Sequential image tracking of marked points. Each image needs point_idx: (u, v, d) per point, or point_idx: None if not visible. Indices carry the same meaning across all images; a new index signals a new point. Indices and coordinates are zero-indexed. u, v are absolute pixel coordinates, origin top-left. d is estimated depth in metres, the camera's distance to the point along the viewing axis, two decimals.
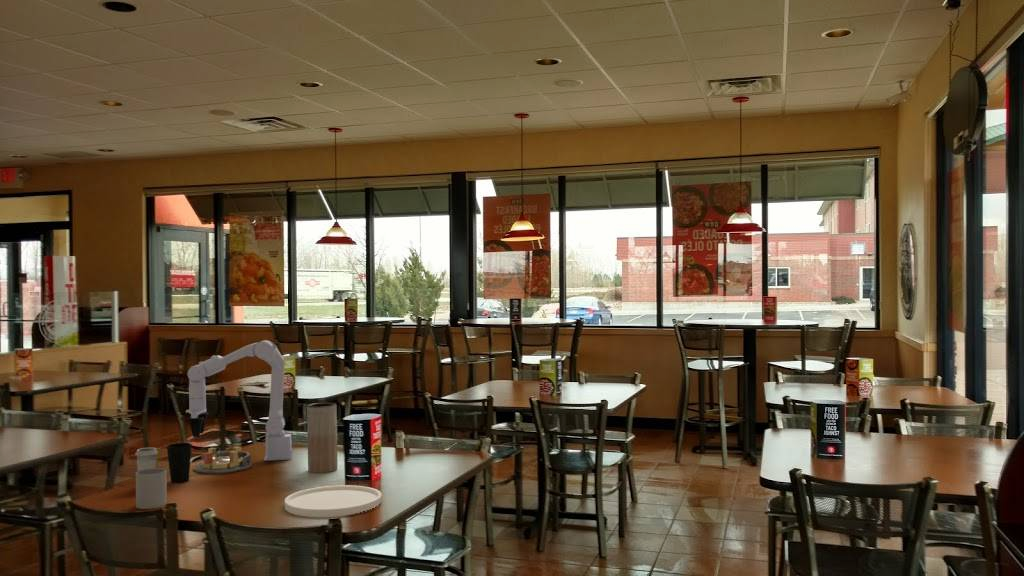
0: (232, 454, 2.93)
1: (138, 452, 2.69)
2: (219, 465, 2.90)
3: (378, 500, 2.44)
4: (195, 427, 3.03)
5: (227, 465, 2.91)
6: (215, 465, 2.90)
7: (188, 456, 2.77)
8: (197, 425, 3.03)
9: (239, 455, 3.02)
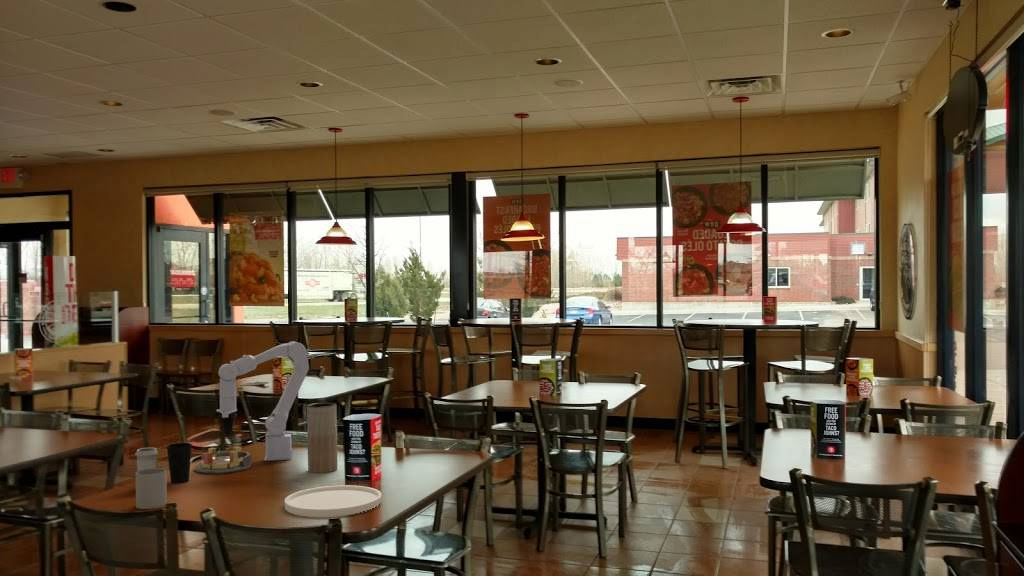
0: (232, 454, 2.93)
1: (138, 452, 2.69)
2: (219, 465, 2.90)
3: (378, 500, 2.44)
4: (227, 425, 3.04)
5: (227, 465, 2.91)
6: (215, 465, 2.90)
7: (188, 456, 2.77)
8: (229, 423, 3.04)
9: (239, 455, 3.02)
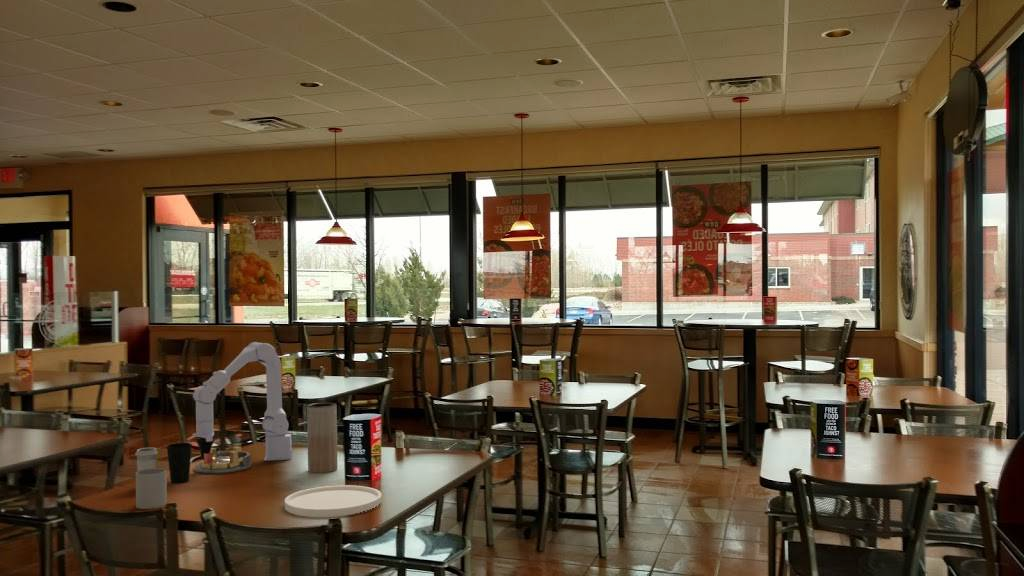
0: (232, 454, 2.93)
1: (138, 452, 2.69)
2: (219, 465, 2.90)
3: (378, 500, 2.44)
4: (205, 449, 2.94)
5: (227, 465, 2.91)
6: (215, 465, 2.90)
7: (188, 456, 2.77)
8: (207, 447, 2.94)
9: (239, 455, 3.02)
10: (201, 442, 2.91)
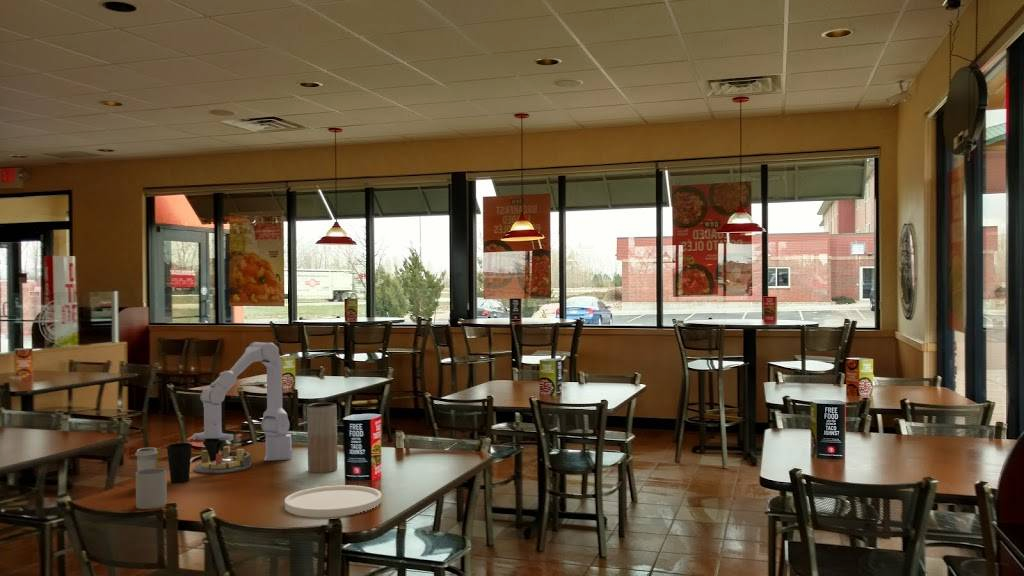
0: (241, 451, 2.97)
1: (138, 452, 2.69)
2: (234, 463, 2.93)
3: (378, 500, 2.44)
4: (215, 450, 2.91)
5: (240, 462, 2.95)
6: (231, 464, 2.92)
7: (188, 456, 2.77)
8: (216, 448, 2.92)
9: (229, 454, 3.04)
10: (216, 443, 2.89)
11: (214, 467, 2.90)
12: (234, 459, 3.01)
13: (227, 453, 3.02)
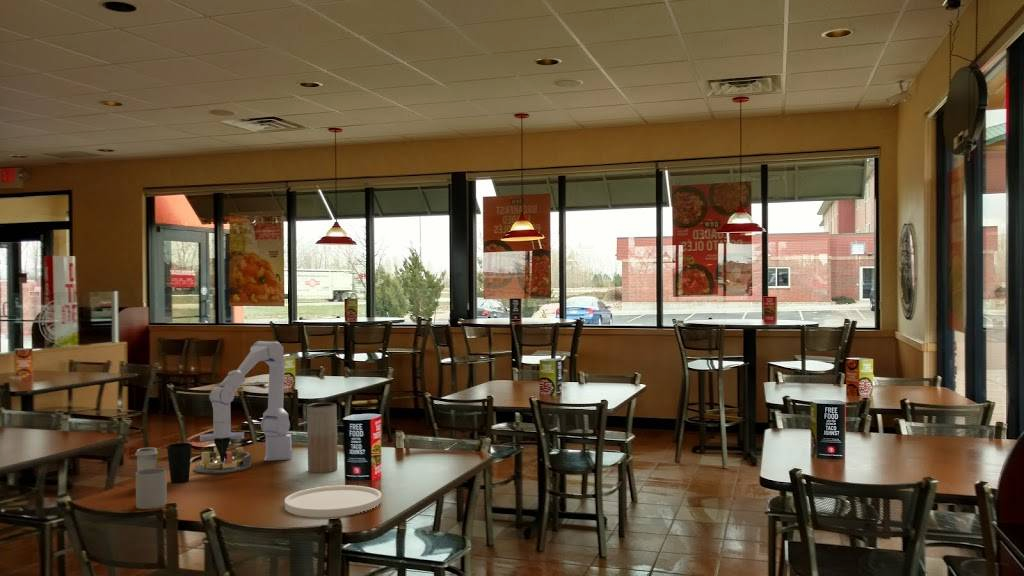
0: (242, 450, 3.01)
1: (138, 452, 2.69)
2: (242, 461, 2.96)
3: (378, 500, 2.44)
4: None
5: None
6: (240, 462, 2.95)
7: (188, 456, 2.77)
8: None
9: None
10: (229, 442, 2.91)
11: (226, 466, 2.91)
12: None
13: None
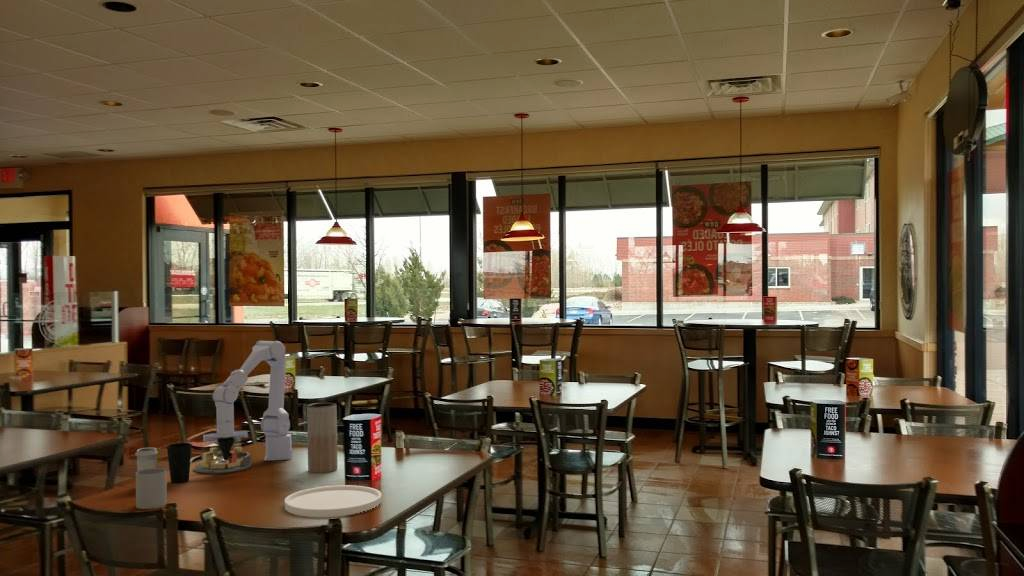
0: (240, 449, 3.02)
1: (138, 452, 2.69)
2: None
3: (378, 500, 2.44)
4: None
5: None
6: None
7: (188, 456, 2.77)
8: None
9: None
10: None
11: (231, 466, 2.92)
12: None
13: (216, 454, 3.01)
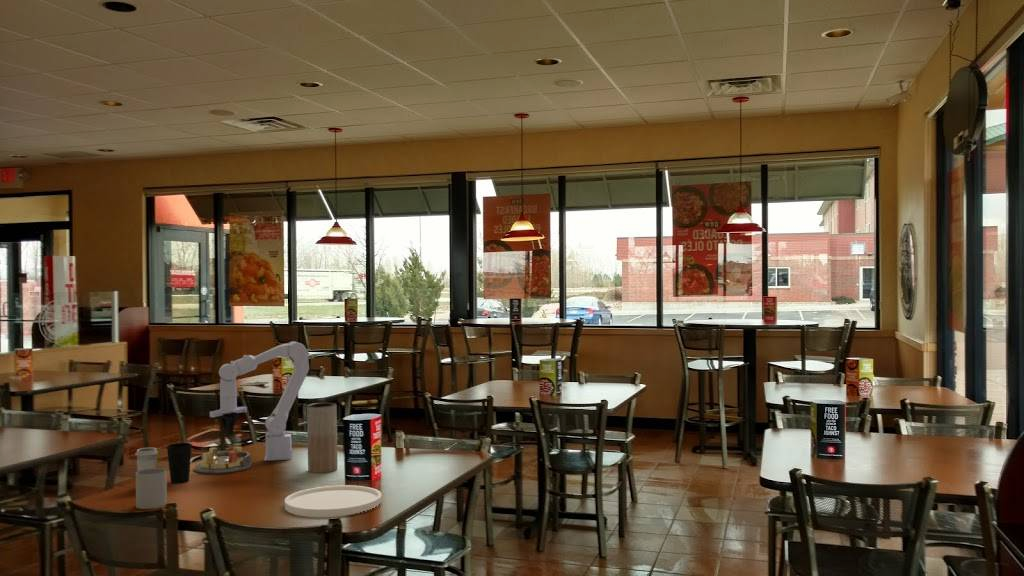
0: (240, 449, 3.02)
1: (138, 452, 2.69)
2: None
3: (378, 500, 2.44)
4: None
5: None
6: None
7: (188, 456, 2.77)
8: None
9: None
10: None
11: (231, 466, 2.92)
12: None
13: (216, 454, 3.01)
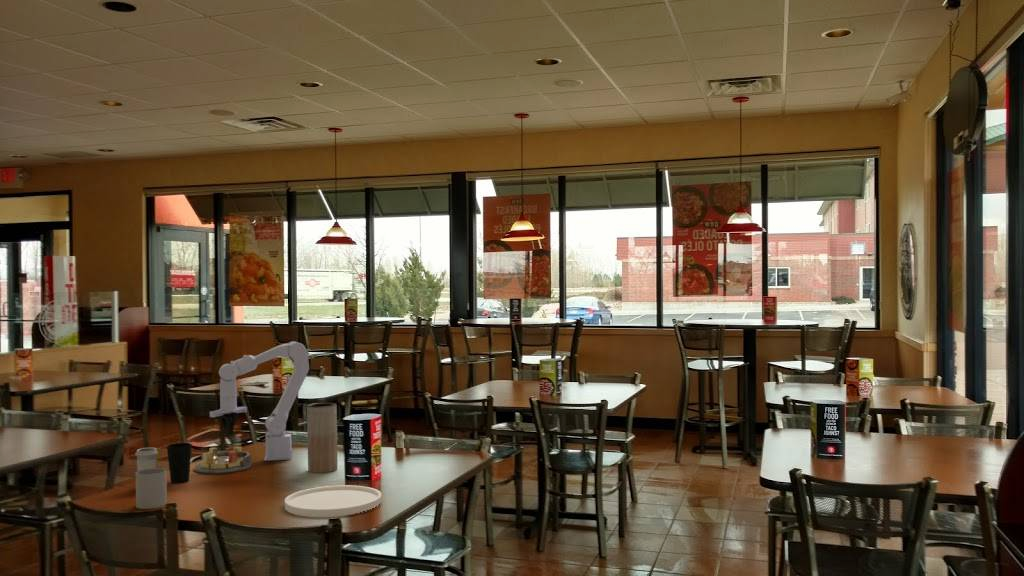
0: (240, 449, 3.02)
1: (138, 452, 2.69)
2: None
3: (378, 500, 2.44)
4: None
5: None
6: None
7: (188, 456, 2.77)
8: None
9: None
10: None
11: (231, 466, 2.92)
12: None
13: (216, 454, 3.01)
